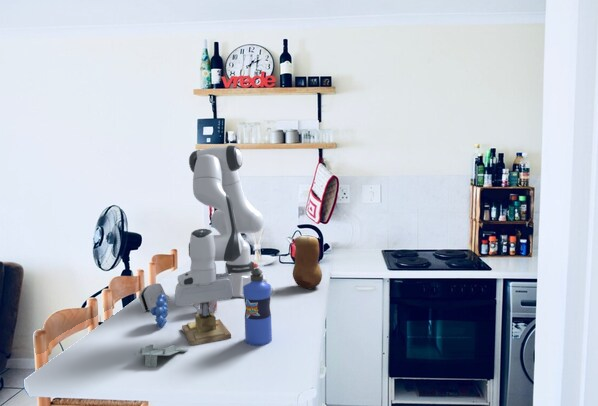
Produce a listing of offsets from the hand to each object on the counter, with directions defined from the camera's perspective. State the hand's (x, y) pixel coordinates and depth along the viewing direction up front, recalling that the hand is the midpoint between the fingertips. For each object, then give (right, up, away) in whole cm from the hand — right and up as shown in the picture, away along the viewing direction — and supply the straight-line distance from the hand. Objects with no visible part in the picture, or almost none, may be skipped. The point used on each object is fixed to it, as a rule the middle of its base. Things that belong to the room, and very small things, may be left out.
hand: (205, 313), depth 164 cm
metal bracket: (-11, -10, -18) cm, 23 cm away
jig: (0, -7, +1) cm, 7 cm away
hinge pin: (0, -5, +1) cm, 5 cm away
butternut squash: (+37, -1, +55) cm, 66 cm away
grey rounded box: (-28, -5, +33) cm, 44 cm away
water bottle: (+20, -8, -6) cm, 22 cm away
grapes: (-19, -7, +9) cm, 22 cm away
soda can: (-3, -5, +23) cm, 24 cm away
